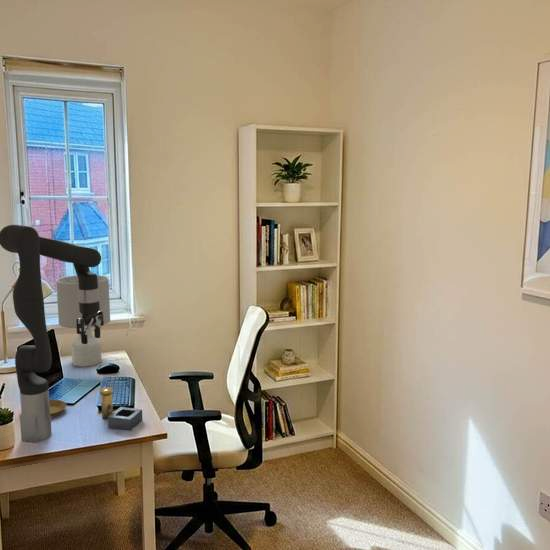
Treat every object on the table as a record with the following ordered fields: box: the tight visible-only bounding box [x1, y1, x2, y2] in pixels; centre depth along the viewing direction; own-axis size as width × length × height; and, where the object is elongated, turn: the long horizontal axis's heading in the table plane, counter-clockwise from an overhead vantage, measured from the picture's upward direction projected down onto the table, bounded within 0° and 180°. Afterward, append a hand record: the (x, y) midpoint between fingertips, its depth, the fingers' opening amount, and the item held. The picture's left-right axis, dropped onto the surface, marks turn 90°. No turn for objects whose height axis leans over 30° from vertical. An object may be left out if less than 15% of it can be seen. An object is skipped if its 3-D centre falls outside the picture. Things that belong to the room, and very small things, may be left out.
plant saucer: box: [49, 399, 67, 418], centre depth 210 cm, size 15×15×3 cm
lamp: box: [55, 274, 111, 368], centre depth 266 cm, size 24×24×42 cm
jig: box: [107, 406, 143, 432], centre depth 200 cm, size 9×9×4 cm
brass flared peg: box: [99, 386, 114, 420], centre depth 206 cm, size 5×5×11 cm
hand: (91, 340), depth 209 cm, fingers open, 8 cm apart
